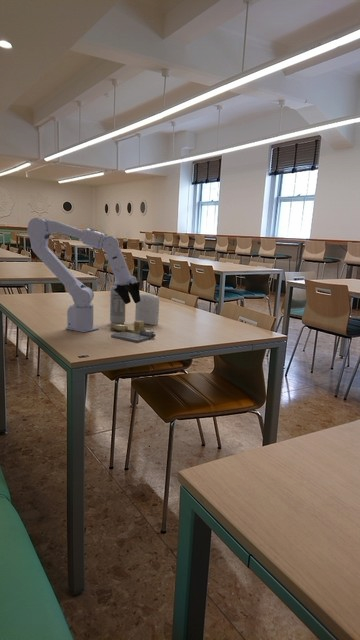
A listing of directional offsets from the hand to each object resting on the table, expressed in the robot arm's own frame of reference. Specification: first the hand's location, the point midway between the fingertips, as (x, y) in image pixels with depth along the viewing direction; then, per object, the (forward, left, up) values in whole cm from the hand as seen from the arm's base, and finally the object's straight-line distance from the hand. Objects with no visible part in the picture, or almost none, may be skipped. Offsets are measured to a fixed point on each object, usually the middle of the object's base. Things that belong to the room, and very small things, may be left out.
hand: (132, 302), depth 154 cm
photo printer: (-5, +15, -11) cm, 19 cm away
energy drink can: (-13, +6, -11) cm, 18 cm away
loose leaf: (-1, 0, -11) cm, 11 cm away
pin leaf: (+7, -7, -11) cm, 15 cm away
